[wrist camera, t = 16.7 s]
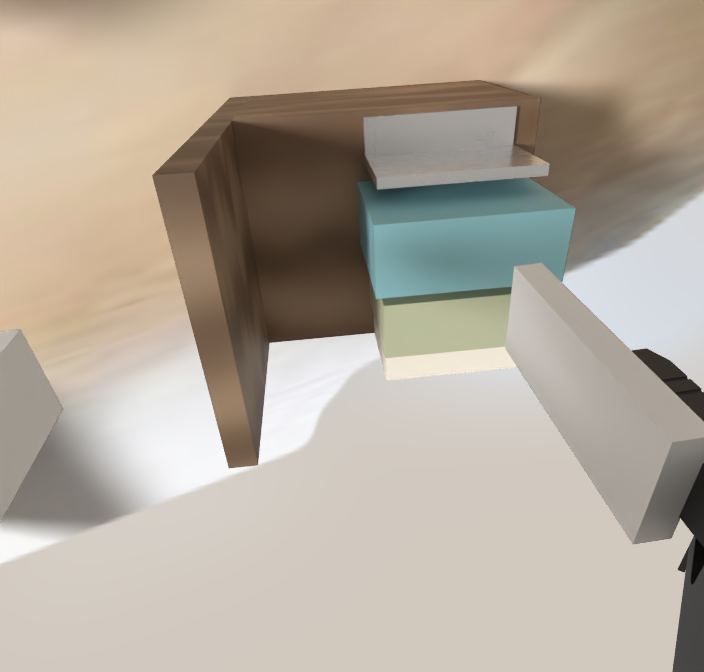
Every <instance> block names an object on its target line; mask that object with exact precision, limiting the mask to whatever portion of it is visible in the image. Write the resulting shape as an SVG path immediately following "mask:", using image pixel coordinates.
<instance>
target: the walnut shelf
mask: <svg viewBox="0 0 704 672" xmlns="http://www.w3.org/2000/svg"><path fill="white" fill-rule="evenodd" d="M540 102H541V98H539V97H535V96H532V95H528V94H525V93H521V92H518V91H514V90H511V89H507V88H504V87H500V86H497V85H493V84H490V83H486V82H483V81H479V80H475V81H461V82H447V83H433V84H419V85H405V86H390V87H376V88H362V89H348V90H334V91H320V92H306V93H292V94H278V95H264V96H250V97H236V98H229V99H228V100H227V101H226V102H225V103H224V104H223V105H222V106H221V107H220V108H219V109H218V110H217V111H216V112H215V113H214V114H213V115H212V116H211V117H210V118H209V119H208V120H207V121H206V122H205V123H204V124H203V125H202V126H201V127H200V128H199V129H198V130H197V131H196V132H195V133H194V134H193V135H192V136H191V137H190V138H189V139H188V140H187V141H186V142H185V143H184V144H183V145H182V146H181V147H180V148H179V149H178V150H177V151H176V152H175V153H174V154H173V155H172V156H171V157H170V158H169V159H168V160H167V161H166V162H165V163H164V164H163V165H162V166H161V167H160V168H159V169H158V170H157V171H156V172H155V173H154V174H153V175H152V176H153V180H154V184H155V188H156V192H157V196H158V199H159V203H160V207H161V211H162V215H163V218H164V222H165V226H166V230H167V234H168V238H169V241H170V245H171V249H172V253H173V257H174V260H175V264H176V268H177V272H178V276H179V279H180V283H181V287H182V291H183V295H184V299H185V302H186V306H187V310H188V314H189V318H190V321H191V325H192V329H193V333H194V337H195V341H196V344H197V348H198V352H199V356H200V360H201V363H202V367H203V371H204V375H205V379H206V382H207V386H208V390H209V394H210V398H211V402H212V405H213V409H214V413H215V417H216V421H217V424H218V428H219V432H220V436H221V440H222V444H223V447H224V451H225V455H226V459H227V463H228V466H229V468H236V467H245V466H255V465H258V458H259V447H260V437H261V426H262V416H263V405H264V394H265V384H266V373H267V362H268V352H269V343H271V342H281V341H292V340H303V339H313V338H324V337H334V336H345V335H355V334H366V333H375V332H374V314H373V310H372V307H371V302H370V277H369V272H368V269H367V265H366V262H365V258H364V255H363V251H362V248H361V244H360V228H359V209H358V189H357V182H364V181H373V180H372V178H371V176H370V174H369V172H368V170H367V168H366V166H365V152H364V127H363V117H367V116H381V115H395V114H408V113H422V112H435V111H449V110H462V109H476V108H490V107H503V106H517V113H516V122H515V131H514V140H513V144H514V145H516V146H517V147H519V148H521V149H523V150H525V151H527V152H529V153H530V154H532V155H534V147H535V140H536V132H537V125H538V117H539V110H540ZM529 178H531V177H529Z"/></svg>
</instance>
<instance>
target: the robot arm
mask: <svg viewBox="0 0 704 672" xmlns="http://www.w3.org/2000/svg"><path fill="white" fill-rule="evenodd" d="M505 349H506V351H507V352H508V354H509V355H510V357H511V358H512V360H513V361H514V363H515V364H516V366H517V368H518V369H519V371H520V372H521V374H522V375H523V377H524V378H525V380H526V381H527V383H528V384H529V386H530V387H531V389H532V390H533V392H534V393H535V395H536V397H537V398H538V400H539V401H540V403H541V404H542V406H543V407H544V409H545V410H546V412H547V413H548V415H549V417H550V418H551V419H552V421H553V423H554V424H555V426H556V427H557V429H558V430H559V432H560V433H561V435H562V436H563V438H564V439H565V441H566V442H567V444H568V446H569V447H570V449H571V450H572V452H573V453H574V455H575V456H576V458H577V459H578V461H579V462H580V464H581V465H582V467H583V468H584V470H585V472H586V473H587V475H588V476H589V478H590V479H591V481H592V482H593V484H594V485H595V487H596V488H597V490H598V491H599V493H600V494H601V496H602V498H603V499H604V501H605V502H606V504H607V505H608V507H609V508H610V510H611V511H612V513H613V514H614V516H615V518H616V519H617V521H618V522H619V524H620V525H621V526H622V528H623V530H624V531H625V533H626V534H627V536H628V537H629V539H630V540H631V542H632V544H638V543H645V542H651V541H658V540H664V539H670V538H672V536H673V533H674V531H675V529H676V527H677V525H678V522H679V520H680V518H681V519H682V521H683V522H684V523H685V524H686V526H687V527H688V528H689V530H690V531H691V532H692V533H693V535H694V537H693V539H692V541H691V543H690V545H689V547H688V549H687V551H686V553H685V555H684V558H683V559H682V562H681V564H680V566H679V568H678V570H679V571H682V572H685V570H686V573H685V581H684V588H683V596H682V603H681V611H680V619H679V626H678V634H677V641H676V649H675V657H674V664H673V672H704V392H702V391H701V388H700V387H699V386H697V385H696V384H695V383H694V382H693V381H692V380H691V379H687V376H686V375H685V374H684V373H683V372H682V371H681V370H680V369H679V368H678V367H677V366H675V365H674V364H673V363H672V362H671V361H670V360H668V359H666V358H664V357H662V356H660V355H658V354H656V353H654V352H652V351H650V350H649V349H640V350H633V351H631V350H630V349H629V348H628V347H627V346H626V345H625V344H624V343H623V342H622V341H621V340H620V339H619V338H618V337H617V336H616V335H615V334H614V333H613V332H612V331H611V330H610V329H609V328H608V327H607V326H606V325H605V324H604V323H603V322H602V321H600V320H599V319H598V318H597V317H596V316H595V315H594V314H593V313H592V312H591V311H590V310H589V309H588V308H587V307H586V306H585V305H584V304H583V303H582V302H581V301H580V300H579V299H578V298H577V297H576V296H575V295H574V294H573V293H572V292H571V291H570V290H569V289H568V288H567V287H566V286H565V285H564V284H563V283H562V282H561V281H560V280H559V279H558V278H557V277H556V276H555V275H554V274H553V273H552V272H551V271H549V270H548V269H547V268H546V267H545V266H544V265H543V264H542V263H536V264H528V265H520V266H514V273H513V282H512V291H511V300H510V310H509V319H508V328H507V337H506V347H505ZM62 410H63V407H62V405H61V403H60V401H59V400H58V398H57V396H56V394H55V392H54V390H53V388H52V387H51V385H50V383H49V381H48V379H47V377H46V375H45V374H44V372H43V370H42V368H41V366H40V364H39V362H38V361H37V359H36V357H35V355H34V353H33V351H32V349H31V348H30V346H29V344H28V342H27V340H26V338H25V336H24V335H23V333H22V331H21V329H16V330H8V331H1V332H0V522H1V520H2V518H3V517H4V515H5V513H6V511H7V509H8V508H9V506H10V504H11V502H12V500H13V499H14V497H15V495H16V493H17V491H18V490H19V488H20V486H21V484H22V482H23V481H24V479H25V477H26V475H27V473H28V471H29V470H30V468H31V466H32V464H33V462H34V461H35V459H36V457H37V455H38V453H39V452H40V450H41V448H42V446H43V444H44V443H45V441H46V439H47V437H48V435H49V434H50V432H51V430H52V428H53V426H54V425H55V423H56V421H57V419H58V417H59V416H60V414H61V412H62Z"/></svg>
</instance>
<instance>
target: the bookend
mask: <svg viewBox="0 0 704 672" xmlns="http://www.w3.org/2000/svg"><path fill="white" fill-rule="evenodd" d="M516 113H517V106H503V107H490V108H476V109H462V110H449V111H435V112H422V113H408V114H395V115H381V116H367V117H363V127H364V152H365V166H366V168H367V170H368V172H369V174H370V176H371V178H372V180H373V182H374V184H375V186H376V188H377V190H378V189H391V188H403V187H415V186H428V185H440V184H452V183H465V182H477V181H490V180H502V179H514V178H527V177H539V176H548V173H549V166H550V164H549V163H547V162H545V161H543V160H542V159H540V158H538V157H536V156H534V155H532V154H530V153H529V152H527V151H525V150H523V149H521V148H519V147H517V146H516V145H514V144H513V140H514V131H515V122H516Z"/></svg>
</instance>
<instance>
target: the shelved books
mask: <svg viewBox="0 0 704 672" xmlns="http://www.w3.org/2000/svg"><path fill="white" fill-rule="evenodd" d="M369 277H370V276H369ZM511 291H512V287H501V288H491V289H480V290H469V291H458V292H447V293H437V294H426V295H415V296H404V297H393V298H383V299H376V297H375V293H374V290H373V286H372V283H371V279H370V302H371V307H372V310H373V314H374V332H375V336H376V340H377V344H378V348H379V352H380V356H381V360H382V364H383V368H384V372H385V376H386V380H395V379H406V378H416V377H426V376H437V375H447V374H457V373H466V372H477V371H487V370H497V369H507V368H517V366H516V364H515V363H514V361H513V360H512V358H511V357H510V355H509V354H508V352H507V351H506V349H505V347H506V337H507V328H508V319H509V310H510V300H511Z"/></svg>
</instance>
